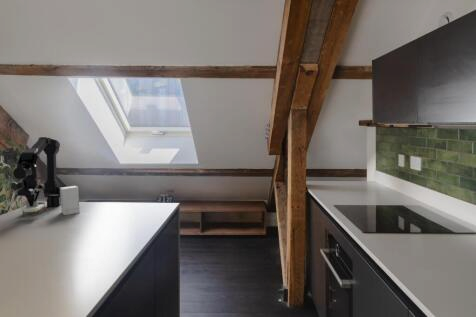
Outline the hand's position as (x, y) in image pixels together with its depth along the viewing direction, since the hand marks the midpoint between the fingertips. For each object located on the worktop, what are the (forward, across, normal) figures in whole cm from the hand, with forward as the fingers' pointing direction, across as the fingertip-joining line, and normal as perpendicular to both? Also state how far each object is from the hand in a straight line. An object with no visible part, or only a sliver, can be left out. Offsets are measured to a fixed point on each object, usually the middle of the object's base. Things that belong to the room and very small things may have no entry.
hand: (32, 205), depth 166 cm
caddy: (+6, -9, -3) cm, 12 cm away
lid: (+2, 0, 0) cm, 2 cm away
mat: (+7, -4, 0) cm, 8 cm away
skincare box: (+7, -7, +16) cm, 19 cm away
